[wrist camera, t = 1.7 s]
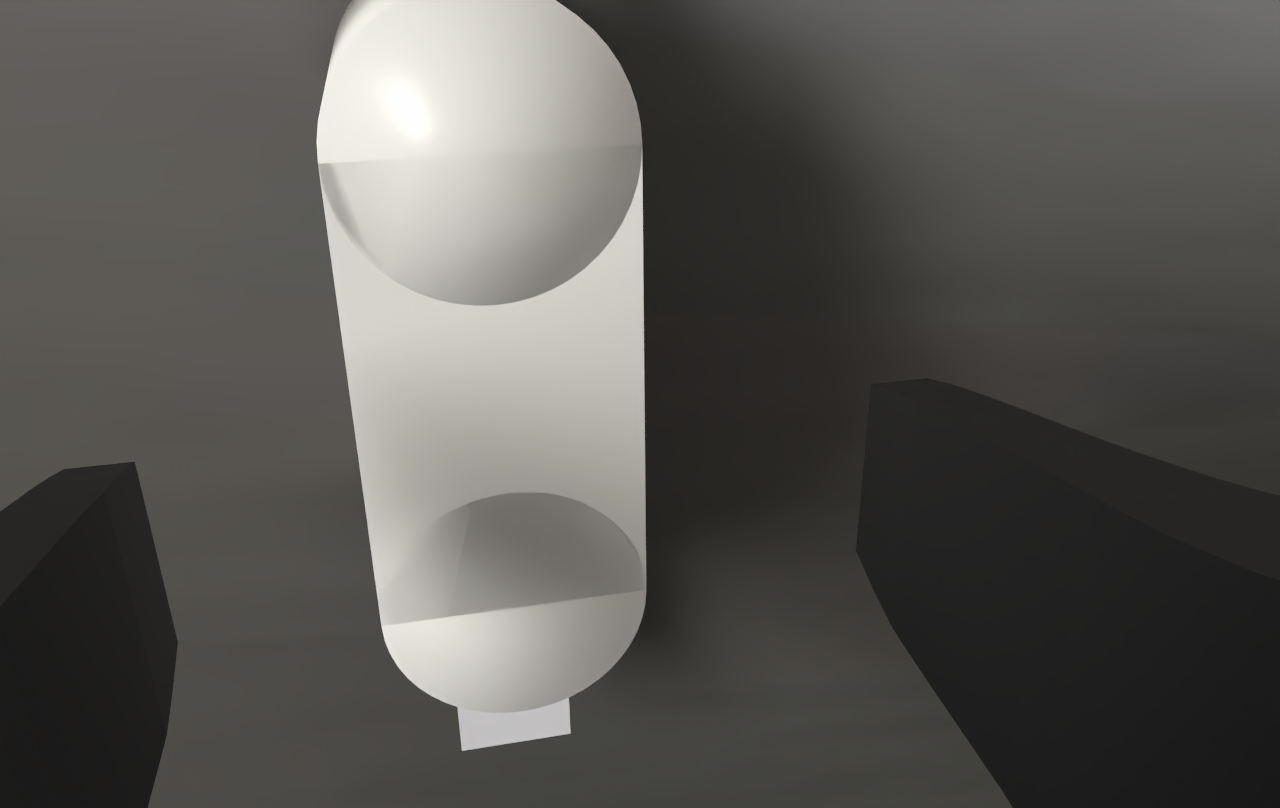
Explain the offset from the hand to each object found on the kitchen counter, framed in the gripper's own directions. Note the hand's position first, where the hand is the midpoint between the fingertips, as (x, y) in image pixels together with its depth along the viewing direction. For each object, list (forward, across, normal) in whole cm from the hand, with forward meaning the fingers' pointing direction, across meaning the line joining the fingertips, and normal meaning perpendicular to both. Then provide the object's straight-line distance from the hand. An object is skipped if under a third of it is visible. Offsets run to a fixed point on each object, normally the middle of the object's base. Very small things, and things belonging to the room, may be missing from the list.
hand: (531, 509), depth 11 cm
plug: (+8, 0, 0) cm, 8 cm away
